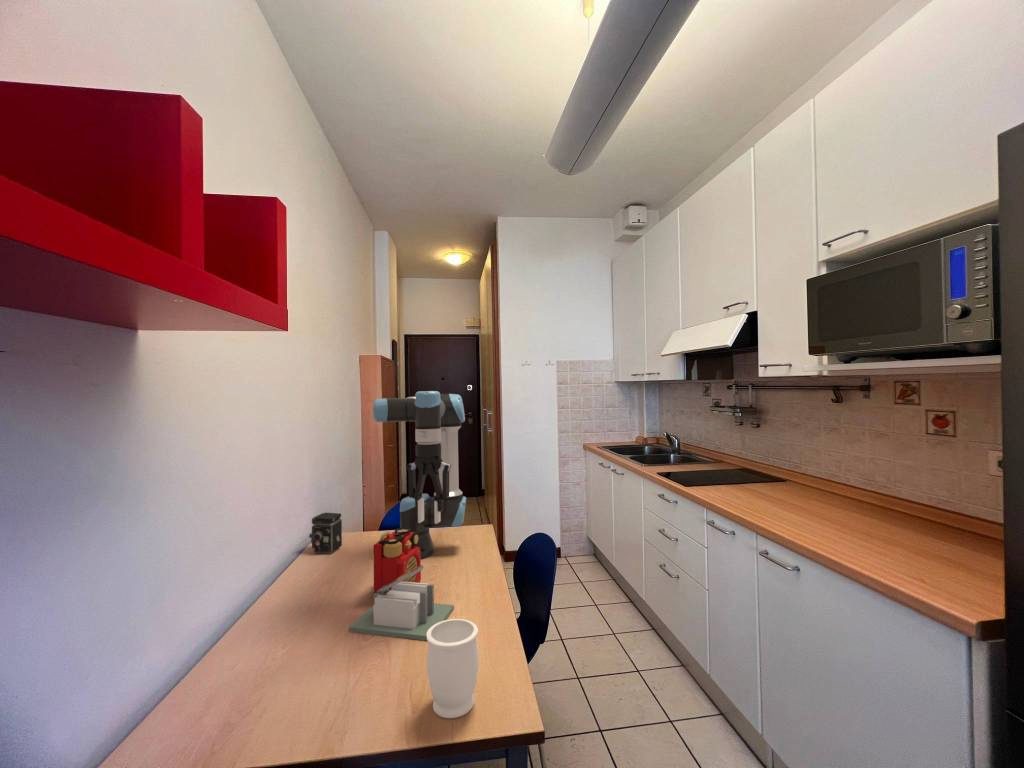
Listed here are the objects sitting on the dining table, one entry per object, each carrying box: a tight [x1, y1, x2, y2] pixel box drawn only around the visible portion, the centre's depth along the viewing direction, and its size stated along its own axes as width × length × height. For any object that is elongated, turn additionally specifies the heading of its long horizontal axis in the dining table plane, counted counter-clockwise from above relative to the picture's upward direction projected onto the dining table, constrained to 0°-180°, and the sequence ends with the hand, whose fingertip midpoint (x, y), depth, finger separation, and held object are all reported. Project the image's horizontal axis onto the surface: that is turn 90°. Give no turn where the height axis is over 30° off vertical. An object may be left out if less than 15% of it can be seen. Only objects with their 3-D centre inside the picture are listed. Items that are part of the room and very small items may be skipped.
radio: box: [373, 527, 422, 595], centre depth 141 cm, size 16×10×20 cm, turn 168°
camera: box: [309, 512, 343, 555], centre depth 179 cm, size 10×10×15 cm
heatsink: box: [348, 582, 455, 642], centre depth 123 cm, size 24×17×9 cm
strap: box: [377, 564, 425, 595], centre depth 123 cm, size 15×3×2 cm
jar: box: [426, 618, 480, 719], centre depth 89 cm, size 11×10×15 cm
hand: (429, 521), depth 127 cm, fingers open, 4 cm apart
